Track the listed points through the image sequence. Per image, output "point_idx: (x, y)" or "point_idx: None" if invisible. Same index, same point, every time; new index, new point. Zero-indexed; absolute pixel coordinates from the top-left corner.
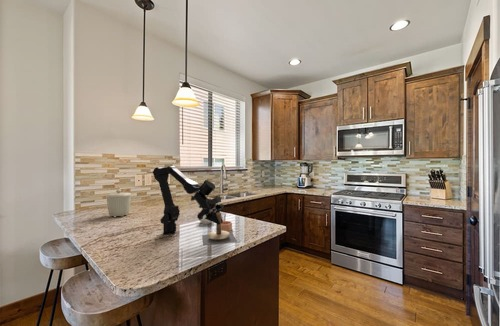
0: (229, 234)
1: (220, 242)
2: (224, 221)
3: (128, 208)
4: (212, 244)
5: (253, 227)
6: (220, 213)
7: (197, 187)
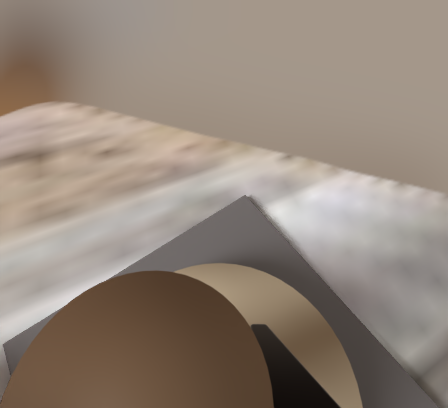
0: (189, 268)
1: None
2: None
3: None
4: (399, 366)
5: None
6: (176, 274)
7: None
